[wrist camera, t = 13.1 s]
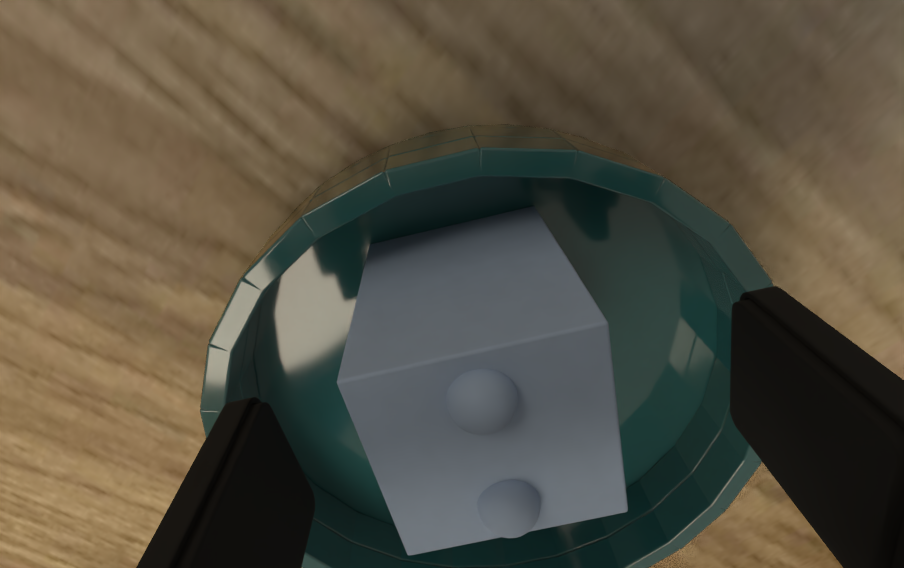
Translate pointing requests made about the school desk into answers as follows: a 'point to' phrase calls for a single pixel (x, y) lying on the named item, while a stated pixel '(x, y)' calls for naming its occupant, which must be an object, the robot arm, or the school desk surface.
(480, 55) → the school desk surface
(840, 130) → the school desk surface
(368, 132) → the school desk surface
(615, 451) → the block
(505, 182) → the bowl
